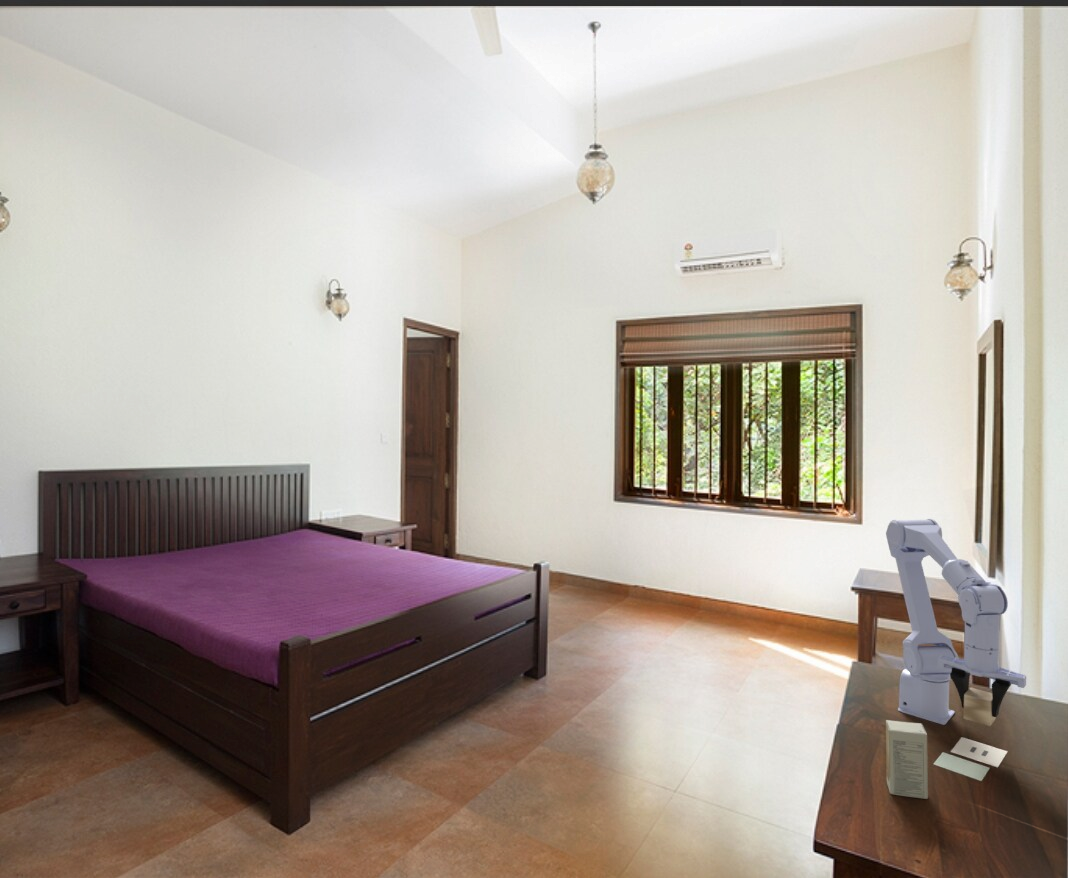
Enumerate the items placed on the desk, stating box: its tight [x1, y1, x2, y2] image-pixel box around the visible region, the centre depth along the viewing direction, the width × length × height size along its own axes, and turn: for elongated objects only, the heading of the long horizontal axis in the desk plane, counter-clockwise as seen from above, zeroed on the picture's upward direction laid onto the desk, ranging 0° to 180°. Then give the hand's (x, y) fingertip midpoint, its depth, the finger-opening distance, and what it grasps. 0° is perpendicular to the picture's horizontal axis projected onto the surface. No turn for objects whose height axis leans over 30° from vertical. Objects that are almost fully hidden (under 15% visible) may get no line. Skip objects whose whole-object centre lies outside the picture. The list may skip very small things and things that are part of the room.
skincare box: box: [885, 719, 929, 800], centre depth 121 cm, size 6×4×12 cm
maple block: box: [963, 687, 997, 727], centre depth 133 cm, size 4×4×5 cm
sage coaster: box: [933, 752, 991, 782], centre depth 128 cm, size 8×6×1 cm
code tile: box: [950, 737, 1008, 768], centre depth 133 cm, size 8×8×1 cm
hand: (979, 710), depth 133 cm, fingers closed on maple block, 4 cm apart
